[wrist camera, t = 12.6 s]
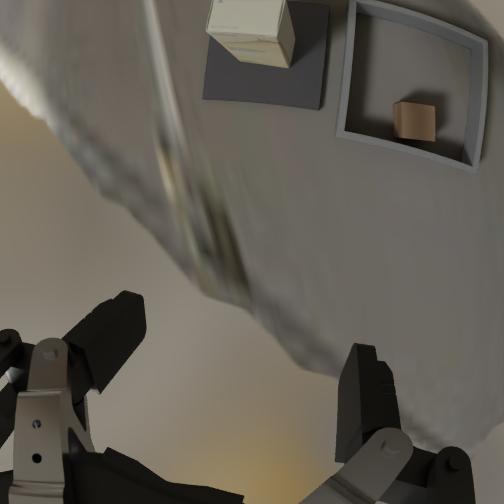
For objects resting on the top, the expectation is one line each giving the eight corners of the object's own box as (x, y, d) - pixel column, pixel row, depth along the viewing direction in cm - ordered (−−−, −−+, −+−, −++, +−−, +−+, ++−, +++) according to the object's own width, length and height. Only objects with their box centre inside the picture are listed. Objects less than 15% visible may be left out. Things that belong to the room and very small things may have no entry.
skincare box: (239, 61, 30) (201, 33, 20) (246, 30, 29) (211, -9, 18) (291, 69, 30) (276, 39, 19) (298, 36, 28) (286, -6, 17)
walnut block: (423, 108, 28) (434, 106, 25) (423, 140, 30) (435, 141, 26) (393, 104, 29) (401, 101, 26) (393, 137, 31) (402, 137, 27)
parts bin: (475, 46, 23) (487, 41, 19) (464, 170, 30) (476, 175, 27) (347, 6, 25) (349, -5, 22) (334, 136, 32) (335, 136, 29)
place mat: (329, 8, 26) (329, 5, 25) (318, 110, 32) (318, 109, 31) (217, 3, 28) (215, 1, 27) (204, 99, 34) (202, 99, 33)
